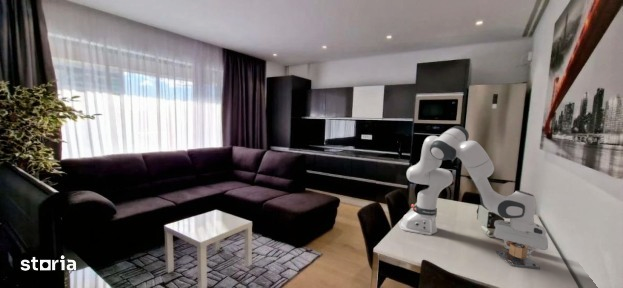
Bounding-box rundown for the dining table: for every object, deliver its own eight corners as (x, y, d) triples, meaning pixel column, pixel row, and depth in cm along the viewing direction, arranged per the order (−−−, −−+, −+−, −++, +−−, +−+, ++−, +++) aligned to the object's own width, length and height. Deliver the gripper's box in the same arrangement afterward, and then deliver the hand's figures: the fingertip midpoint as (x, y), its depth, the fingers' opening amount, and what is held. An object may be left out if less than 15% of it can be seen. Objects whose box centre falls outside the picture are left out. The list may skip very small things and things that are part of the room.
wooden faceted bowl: (505, 252, 124) (506, 242, 124) (514, 250, 127) (515, 240, 126) (521, 259, 118) (522, 249, 117) (530, 257, 120) (531, 247, 120)
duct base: (511, 265, 117) (513, 245, 116) (496, 252, 129) (498, 234, 128) (539, 269, 116) (542, 248, 115) (522, 255, 128) (524, 236, 127)
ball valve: (504, 242, 141) (508, 212, 140) (488, 240, 143) (491, 210, 141) (489, 229, 159) (492, 202, 157) (474, 227, 160) (477, 200, 159)
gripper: (494, 220, 125) (491, 246, 126) (550, 233, 112) (546, 262, 113) (495, 216, 130) (492, 242, 131) (548, 228, 117) (545, 256, 118)
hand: (517, 251), depth 122 cm, fingers closed on wooden faceted bowl, 7 cm apart
